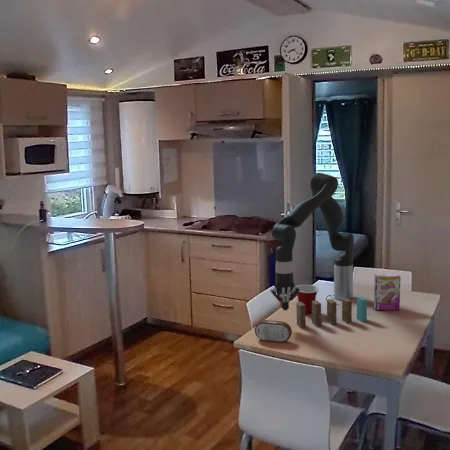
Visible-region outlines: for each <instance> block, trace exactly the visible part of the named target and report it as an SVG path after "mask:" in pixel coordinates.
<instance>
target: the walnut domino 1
mask: <svg viewBox="0 0 450 450" xmlns="http://www.w3.org/2000/svg"><path fill="white" fill-rule="evenodd" d="M306 315H307V314H306V307H305V304H304V303H302V302H299V301H297V302H296V326H297V327H298V328H300V329H305V327H306V325H307V322H306V321H307V320H306V319H307V318H306V317H307V316H306ZM306 328H307V327H306Z"/></svg>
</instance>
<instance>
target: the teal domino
mask: <svg viewBox="0 0 450 450" xmlns="http://www.w3.org/2000/svg"><path fill="white" fill-rule="evenodd" d="M356 319H357V320H358V321H360V322H361V323H366V322H367V320H368V300H367V299H366V298H365V297H364V296H356Z"/></svg>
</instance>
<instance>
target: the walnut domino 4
mask: <svg viewBox="0 0 450 450" xmlns="http://www.w3.org/2000/svg"><path fill="white" fill-rule="evenodd" d="M352 307H353V304H352V299H348V298H342V300H341V321H343V322H344V323H345V324H352V321H353V319H352V318H353V317H352V316H353V314H352V311H353V310H352V309H353V308H352Z"/></svg>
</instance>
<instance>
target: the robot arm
mask: <svg viewBox="0 0 450 450" xmlns="http://www.w3.org/2000/svg"><path fill="white" fill-rule="evenodd" d="M309 181H310V183H309V184H310V189H311V192H312V195H313V196H311V197H310V198H308V199H305V200H303V201H301V202H300V203H298V204H296V205H295V206H294V207H293V209H292V210H291V211H290V212H289V214H287V215H286V216H284V217H283V218H281V219H280V220H279V221H278V222H276V223H275V224H274V225H273V227H272V228H271V236H272V238H273V239H274V240H276V241H280V242H282V244H281V245H279V246H278V247H276V249H275V284H274V287H273V288H272V289H270V290H269V291H270V292H271V294H272V295H273V297H274V298H276V300H277V301H278V302H281V309H282V310H283V311H288V310H289V309H290V302H291V301H293V300H294V299H295V297H296V296H297V293H298V292H299V288H298V287H296V286H295V285H296V284H295V282H294V263H293V250H294V246H295V243H296V240H297V239H296V238H297V232H296V229H295V228H297V229H298V228H299V227H301V225H303V224H304V222H305V221H306V220H307V219H308V218H309V217H310V215H312V213H314V212H315V211H316V210H317V209H318V208H319V209H320V212H321V216H322V219H323V222H324V224H325V226H326V231H327V233H328V238H329V242H330V247H331V249H332V250H333V251H336V252H337V251H338V252H345V254H344V255H341V256H338V257H335V258H334V259H333V272H334V273H333V284H334V285H333V288H334V289H333V297H334V299H335V300H339V301H342V298H348V299H350V300H352V299H353V298H354V247H355V238H354V234H353V233H352V232H343V231H342V232H341V231H340V232H338V229H339V227H340V226H341V225H342V224H343V221H344V213H343V211H342V208H341V206H340V204H339V203H338V202H337V201H336V200H335V198H334V197H333V195H334V194H335V193H336V192H337V190H338V188H339V180H338V178H337V177H336V176H333V175H332V174H331V175H330V174H326V173H323V172H315V173H313V174H312V176H311V178H310V180H309ZM277 292H278V293H279V295H278V294H277Z"/></svg>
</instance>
